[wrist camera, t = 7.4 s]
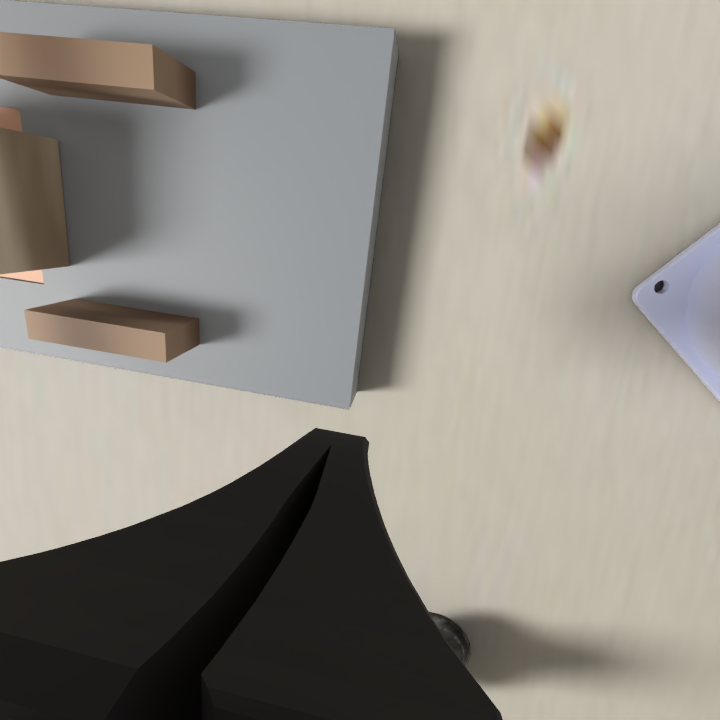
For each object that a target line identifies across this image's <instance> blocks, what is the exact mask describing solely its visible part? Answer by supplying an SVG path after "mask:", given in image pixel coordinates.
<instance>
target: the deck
mask: <svg viewBox="0 0 720 720" xmlns="http://www.w3.org/2000/svg"><path fill="white" fill-rule="evenodd" d="M0 32H8V33H20V34H32V35H44V36H56V37H69V38H81V39H93V40H105V41H117V42H129V43H141V44H152V45H154V46H155V47H157V48H159V49H160V50H162V51H163V52H165V53H167V54H168V55H170V56H171V57H173V58H174V59H176V60H178V61H179V62H181V63H182V64H184V65H185V66H187V67H189V68H190V69H192V70H193V71H195V72H196V110H194V109H184V108H174V107H164V106H154V105H144V104H134V103H124V102H114V101H104V100H94V99H84V98H74V97H64V96H54V95H49V94H46V93H43V92H40V91H37V90H34V89H31V88H28V87H25V86H22V85H19V84H16V83H13V82H10V81H7V80H4V79H1V78H0V107H7V108H17V109H19V111H20V118H21V125H22V132H24V133H29V134H33V135H38V136H43V137H47V138H52V139H57V140H58V144H59V155H60V166H61V176H62V187H63V197H64V208H65V219H66V229H67V240H68V250H69V261H70V266H68V267H59V268H51V269H42V274H43V281H44V283H39V282H33V281H26V280H20V279H14V278H7V277H1V276H0V348H5V349H11V350H17V351H22V352H28V353H34V354H39V355H45V356H50V357H56V358H62V359H67V360H73V361H79V362H84V363H90V364H95V365H101V366H107V367H112V368H118V369H123V370H129V371H135V372H140V373H146V374H152V375H157V376H163V377H168V378H174V379H180V380H185V381H191V382H197V383H202V384H208V385H213V386H219V387H225V388H230V389H236V390H241V391H247V392H253V393H258V394H264V395H270V396H275V397H281V398H286V399H292V400H298V401H303V402H309V403H315V404H320V405H326V406H331V407H337V408H343V409H348V410H349V409H350V407H351V404H352V402H353V400H354V397H355V395H356V393H357V385H358V377H359V369H360V361H361V353H362V345H363V337H364V329H365V321H366V313H367V305H368V297H369V289H370V281H371V273H372V265H373V257H374V248H375V240H376V232H377V224H378V216H379V208H380V200H381V192H382V184H383V176H384V168H385V160H386V152H387V144H388V136H389V128H390V120H391V111H392V103H393V95H394V87H395V79H396V71H397V63H398V55H399V49H398V44H397V38H396V33H395V28H383V27H369V26H355V25H342V24H328V23H314V22H300V21H287V20H273V19H259V18H245V17H232V16H218V15H204V14H191V13H177V12H163V11H149V10H136V9H122V8H108V7H95V6H81V5H67V4H53V3H40V2H26V1H12V0H0ZM71 299H80V300H86V301H92V302H99V303H105V304H111V305H117V306H124V307H130V308H136V309H142V310H149V311H155V312H161V313H168V314H174V315H180V316H186V317H193V318H199V335H200V345H198V346H196V347H194V348H193V349H191V350H189V351H187V352H185V353H183V354H181V355H180V356H178V357H176V358H174V359H172V360H170V361H168V362H167V363H165V362H159V361H154V360H148V359H142V358H136V357H131V356H125V355H119V354H113V353H107V352H102V351H96V350H90V349H84V348H79V347H73V346H67V345H61V344H56V343H50V342H44V341H38V340H33V339H29V338H28V332H27V326H26V319H25V313H24V310H26V309H30V308H35V307H39V306H44V305H48V304H53V303H57V302H62V301H66V300H71Z"/></svg>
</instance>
